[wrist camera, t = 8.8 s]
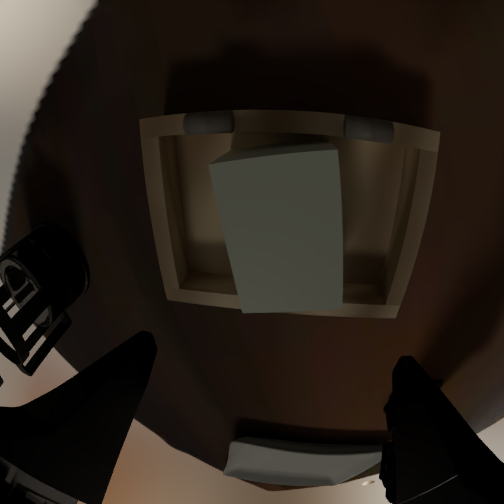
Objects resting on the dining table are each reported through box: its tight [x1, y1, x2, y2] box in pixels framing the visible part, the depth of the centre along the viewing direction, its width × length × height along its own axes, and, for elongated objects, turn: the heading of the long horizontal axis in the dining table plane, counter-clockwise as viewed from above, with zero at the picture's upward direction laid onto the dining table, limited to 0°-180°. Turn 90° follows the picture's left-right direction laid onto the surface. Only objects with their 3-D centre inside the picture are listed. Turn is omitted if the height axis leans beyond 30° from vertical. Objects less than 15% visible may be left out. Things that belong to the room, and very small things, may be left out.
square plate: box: [223, 437, 383, 486], centre depth 41 cm, size 27×27×4 cm
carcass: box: [139, 110, 440, 318], centre depth 17 cm, size 17×13×4 cm
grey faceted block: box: [208, 139, 343, 313], centre depth 16 cm, size 6×9×4 cm, turn 10°
